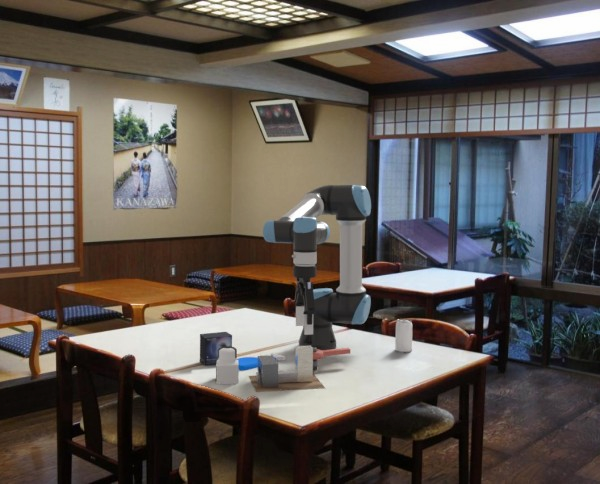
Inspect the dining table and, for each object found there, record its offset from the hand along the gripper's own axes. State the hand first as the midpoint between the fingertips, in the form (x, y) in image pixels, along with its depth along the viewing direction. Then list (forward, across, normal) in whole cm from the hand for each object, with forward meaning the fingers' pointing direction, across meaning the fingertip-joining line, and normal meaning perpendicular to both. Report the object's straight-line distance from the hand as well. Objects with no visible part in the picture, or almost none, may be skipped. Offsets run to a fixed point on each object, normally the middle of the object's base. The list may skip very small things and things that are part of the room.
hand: (304, 330), depth 223 cm
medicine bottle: (+18, -5, -24) cm, 31 cm away
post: (+18, -13, +6) cm, 23 cm away
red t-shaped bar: (+12, -14, +11) cm, 22 cm away
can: (+18, -37, +48) cm, 63 cm away
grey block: (+17, 0, -12) cm, 21 cm away
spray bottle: (+18, -27, -11) cm, 35 cm away
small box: (+18, -32, -26) cm, 45 cm away
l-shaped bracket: (+17, 0, -6) cm, 18 cm away
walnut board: (+18, 0, -6) cm, 19 cm away
